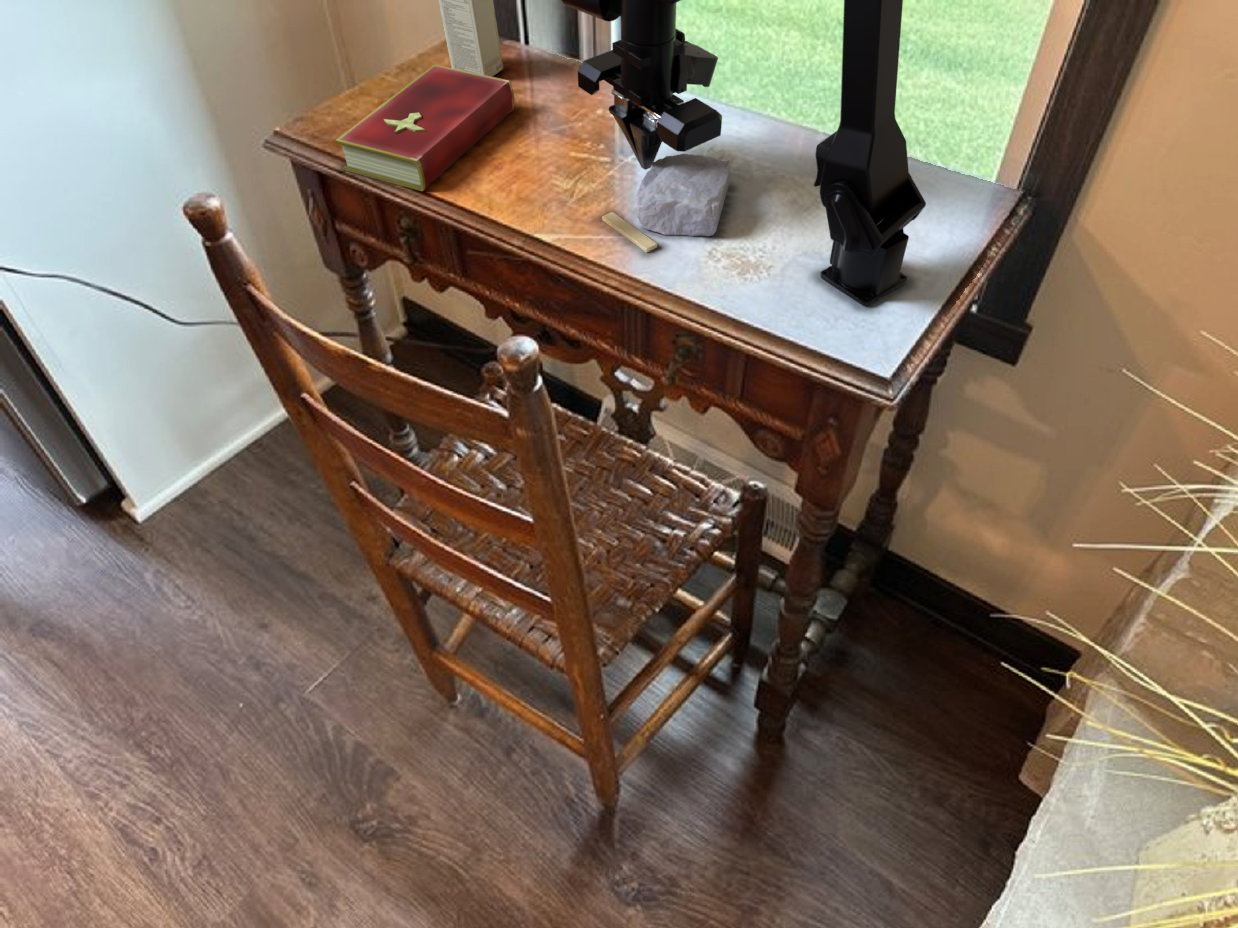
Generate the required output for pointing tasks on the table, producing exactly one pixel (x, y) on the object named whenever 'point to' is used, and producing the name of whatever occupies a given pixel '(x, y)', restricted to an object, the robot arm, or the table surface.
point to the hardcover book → (426, 126)
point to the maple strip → (629, 232)
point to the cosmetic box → (472, 35)
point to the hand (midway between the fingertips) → (646, 167)
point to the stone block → (683, 195)
